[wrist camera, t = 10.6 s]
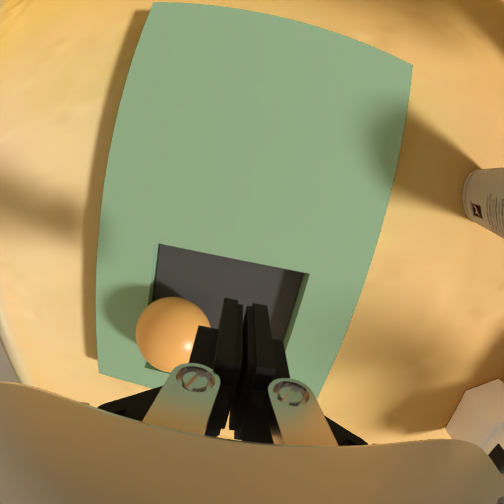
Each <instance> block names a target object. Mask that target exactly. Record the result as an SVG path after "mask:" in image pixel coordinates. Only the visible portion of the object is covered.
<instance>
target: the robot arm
mask: <svg viewBox="0 0 504 504" xmlns="http://www.w3.org/2000/svg"><path fill="white" fill-rule="evenodd" d="M229 411H230V417H229V430H234V439H237V440H231V439H224V438H217V436H218V435H219V434H220V430H221V429H225V426H226V422H227V418H228V415H229ZM238 440H242V441H238ZM0 504H504V478H503V476H502V475H501V473H500V472H499V470H498V469H497V467H496V466H495V464H494V463H493V461H492V460H491V459H490V457H489V456H488V455H487V454H486V453H485V451H484V450H483V449H482V448H480V447H479V446H478V445H476V444H473V443H470V442H467V441H462V440H456V439H427V440H419V441H408V442H397V443H388V444H374V443H373V444H372V445H368V444H367V443H366V442H365V441H364V440H363V439H361V438H359V437H358V436H356V435H354V434H353V433H351V432H350V431H348V430H346V429H345V428H343V427H341V426H340V425H338V424H337V423H335V422H334V421H332V420H330V419H329V418H327V417H326V416H324V414H323V412H322V410H321V408H320V406H319V404H318V402H317V400H316V398H315V396H314V394H313V392H312V390H311V389H310V388H309V387H308V386H307V385H306V384H304V383H302V382H300V381H298V380H295V379H290V374H289V369H288V364H287V359H286V354H285V348H284V343H283V341H282V340H276V339H272V335H271V328H270V321H269V314H268V307H267V305H261V304H256V303H253V304H252V306H247V307H246V311H245V315H244V319H243V305H242V304H238V300H235V299H230V298H225V297H224V301H223V306H222V311H221V316H220V321H219V326H218V329H215V328H210V327H205V326H200V325H199V326H198V329H197V333H196V336H195V340H194V344H193V348H192V352H191V355H190V359H189V363H185V364H181V365H179V366H177V367H175V368H174V369H173V370H172V372H171V373H170V375H169V377H168V378H167V380H166V382H165V383H164V385H163V386H160V387H157V388H154V389H151V390H148V391H145V392H141V393H138V394H135V395H132V396H129V397H125V398H122V399H119V400H115V401H112V402H108V403H105V404H103V405H100V406H99V407H98V408H96V407H93V406H90V404H89V403H83V402H78V401H75V400H72V399H69V398H67V397H64V396H61V395H58V394H56V393H53V392H50V391H46V390H43V389H40V388H37V387H33V386H29V385H25V384H20V383H13V382H5V381H0Z"/></svg>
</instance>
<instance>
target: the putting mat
mask: <svg viewBox="0 0 504 504" xmlns="http://www.w3.org/2000/svg"><path fill="white" fill-rule="evenodd" d="M412 68H413V65H411V64H409V63H407V62H405V61H403V60H401V59H399V58H397V57H395V56H393V55H391V54H388V53H386V52H384V51H382V50H379V49H377V48H375V47H372V46H370V45H367V44H365V43H362V42H360V41H357V40H355V39H352V38H349V37H347V36H344V35H341V34H338V33H335V32H332V31H329V30H326V29H323V28H320V27H316V26H313V25H310V24H306V23H302V22H299V21H295V20H291V19H287V18H283V17H278V16H274V15H269V14H264V13H259V12H254V11H248V10H242V9H236V8H229V7H221V6H213V5H203V4H190V3H168V2H154V3H153V5H152V7H151V10H150V12H149V15H148V17H147V20H146V22H145V25H144V28H143V30H142V33H141V36H140V39H139V42H138V44H137V47H136V50H135V53H134V56H133V59H132V63H131V66H130V69H129V72H128V76H127V79H126V83H125V86H124V90H123V94H122V97H121V101H120V105H119V109H118V113H117V118H116V122H115V127H114V131H113V136H112V141H111V146H110V151H109V157H108V163H107V169H106V175H105V181H104V188H103V196H102V204H101V213H100V223H99V234H98V247H97V265H96V338H97V355H98V369H99V373H101V374H104V375H107V376H110V377H114V378H117V379H121V380H124V381H128V382H131V383H135V384H139V385H143V386H146V387H150V388H157V387H160V386H163V385H164V383H165V382H166V380H167V378H168V377H169V375H170V373H169V372H164V371H161V370H159V369H157V368H155V367H153V366H152V365H151V364H150V363H148V362H147V361H146V360H145V358H144V357H143V356H142V354H141V352H140V351H139V348H138V346H137V342H136V335H135V332H136V325H137V321H138V319H139V317H140V315H141V313H142V312H143V310H144V309H145V308H146V307H147V306H148V305H150V304H151V303H152V302H154V301H156V300H158V299H161V298H165V297H179V298H183V299H186V300H189V301H191V302H193V303H194V304H195V305H197V306H198V307H199V308H200V309H201V310H202V311H203V312H204V314H205V315H206V317H207V319H208V321H209V323H210V326H211V328H215V329H218V326H219V321H220V316H221V311H222V306H223V301H224V297H225V298H230V299H235V300H238V304H242V305H243V319H244V315H245V311H246V307H247V306H252V304H253V303H256V304H261V305H267V307H268V314H269V321H270V328H271V335H272V339H276V340H282V341H283V343H284V348H285V354H286V359H287V364H288V369H289V374H290V379H295V380H298V381H300V382H302V383H304V384H306V385H307V386H308V387H309V388H310V389H311V390H312V392H313V394H314V396H315V398H316V400H317V398H318V395H319V393H320V391H321V389H322V387H323V385H324V383H325V380H326V378H327V376H328V374H329V371H330V369H331V367H332V365H333V362H334V360H335V358H336V355H337V353H338V351H339V348H340V346H341V343H342V341H343V338H344V336H345V333H346V331H347V328H348V326H349V323H350V321H351V318H352V315H353V313H354V310H355V307H356V305H357V302H358V299H359V296H360V293H361V291H362V288H363V285H364V282H365V279H366V276H367V273H368V270H369V267H370V264H371V261H372V257H373V254H374V251H375V248H376V244H377V241H378V238H379V234H380V231H381V227H382V224H383V220H384V216H385V213H386V209H387V205H388V201H389V197H390V193H391V189H392V185H393V181H394V176H395V172H396V167H397V163H398V158H399V153H400V148H401V143H402V137H403V132H404V126H405V120H406V114H407V108H408V101H409V93H410V86H411V77H412ZM159 245H160V248H159ZM158 252H159V256H158ZM157 260H158V264H157ZM156 268H157V272H156ZM302 275H303V276H302ZM155 276H156V281H155ZM154 285H155V290H154ZM299 285H300V286H299ZM297 292H298V293H297ZM153 295H154V300H153ZM294 302H295V303H294ZM291 312H292V313H291ZM290 315H291V316H290ZM287 325H288V326H287ZM286 328H287V329H286ZM285 331H286V332H285Z"/></svg>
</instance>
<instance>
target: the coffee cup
mask: <svg viewBox="0 0 504 504" xmlns="http://www.w3.org/2000/svg"><path fill="white" fill-rule="evenodd" d="M462 204H463V208H464V211H465V214H466V215H467V217H468V218H469V219H470V220H472V221H473V222H475V223H477V224H479V225H481V226H482V227H484V228H486V229H488V230H490V231H491V232H493V233H495V234H497V235H498V236H500V237H502V238H504V168H491V169H478V170H475V171H472V172H471V173H470V174H469V175H468V176H467V178H466V180H465V182H464V186H463V189H462Z"/></svg>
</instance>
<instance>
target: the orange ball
mask: <svg viewBox="0 0 504 504" xmlns="http://www.w3.org/2000/svg"><path fill="white" fill-rule="evenodd" d="M199 325H200V326H205V327H210V328H211V326H210V323H209V321H208V319H207V317H206V315H205V314H204V312H203V311H202V310H201V309H200V308H199V307H198V306H197V305H195V304H194V303H193V302H191V301H189V300H186V299H183V298H179V297H165V298H161V299H158V300H156V301H154V302H152V303H151V304H150V305H148V306H147V307H146V308H145V309H144V310H143V312H142V313H141V315H140V317H139V319H138V321H137V325H136V332H135V335H136V342H137V346H138V348H139V351H140V352H141V354H142V356H143V357H144V358H145V360H146V361H147V362H148V363H150V364H151V365H152V366H153V367H155V368H157V369H159V370H161V371H164V372H169V373H171V372H172V370H173V369H174V368H175V367H177V366H179V365H181V364H185V363H189V359H190V355H191V352H192V348H193V344H194V340H195V336H196V333H197V329H198V326H199Z"/></svg>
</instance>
